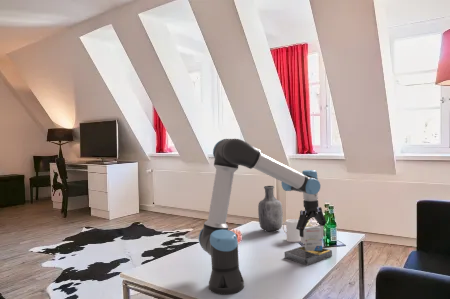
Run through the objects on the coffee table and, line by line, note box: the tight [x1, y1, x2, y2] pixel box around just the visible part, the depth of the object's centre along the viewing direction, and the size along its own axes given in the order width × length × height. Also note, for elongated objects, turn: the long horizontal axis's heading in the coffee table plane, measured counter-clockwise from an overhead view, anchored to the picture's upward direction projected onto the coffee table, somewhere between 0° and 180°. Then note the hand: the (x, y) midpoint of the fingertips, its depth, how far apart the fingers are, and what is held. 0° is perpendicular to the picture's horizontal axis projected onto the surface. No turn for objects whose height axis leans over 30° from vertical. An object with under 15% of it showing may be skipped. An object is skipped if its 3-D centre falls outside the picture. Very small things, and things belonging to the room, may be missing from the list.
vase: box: [257, 185, 284, 233], centre depth 230 cm, size 16×16×30 cm
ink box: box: [303, 225, 323, 251], centre depth 180 cm, size 9×5×12 cm, turn 84°
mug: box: [282, 218, 301, 243], centre depth 209 cm, size 12×8×12 cm
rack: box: [284, 245, 333, 266], centre depth 178 cm, size 19×15×3 cm
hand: (312, 240), depth 180 cm, fingers open, 13 cm apart
